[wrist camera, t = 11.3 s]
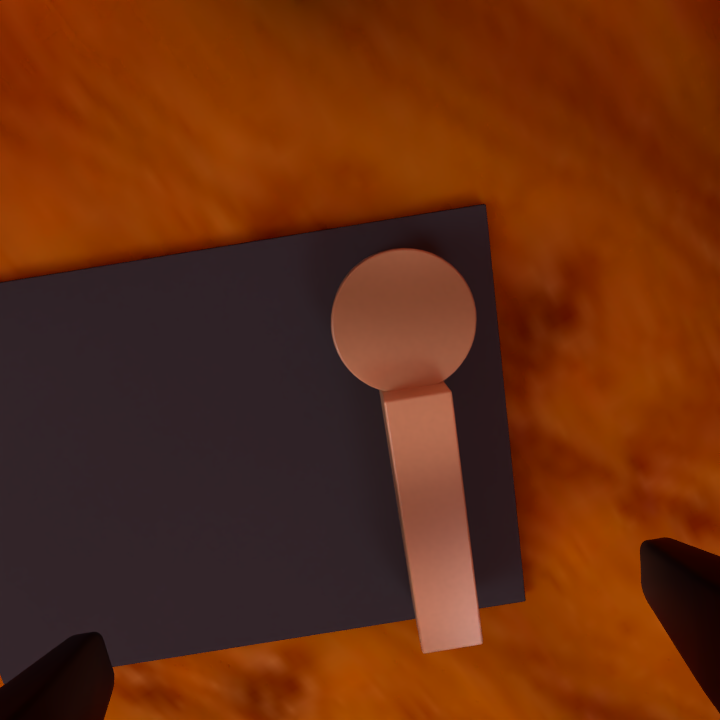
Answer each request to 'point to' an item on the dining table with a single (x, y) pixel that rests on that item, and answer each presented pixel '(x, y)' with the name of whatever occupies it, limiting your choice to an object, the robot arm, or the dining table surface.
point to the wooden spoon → (418, 421)
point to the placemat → (224, 449)
